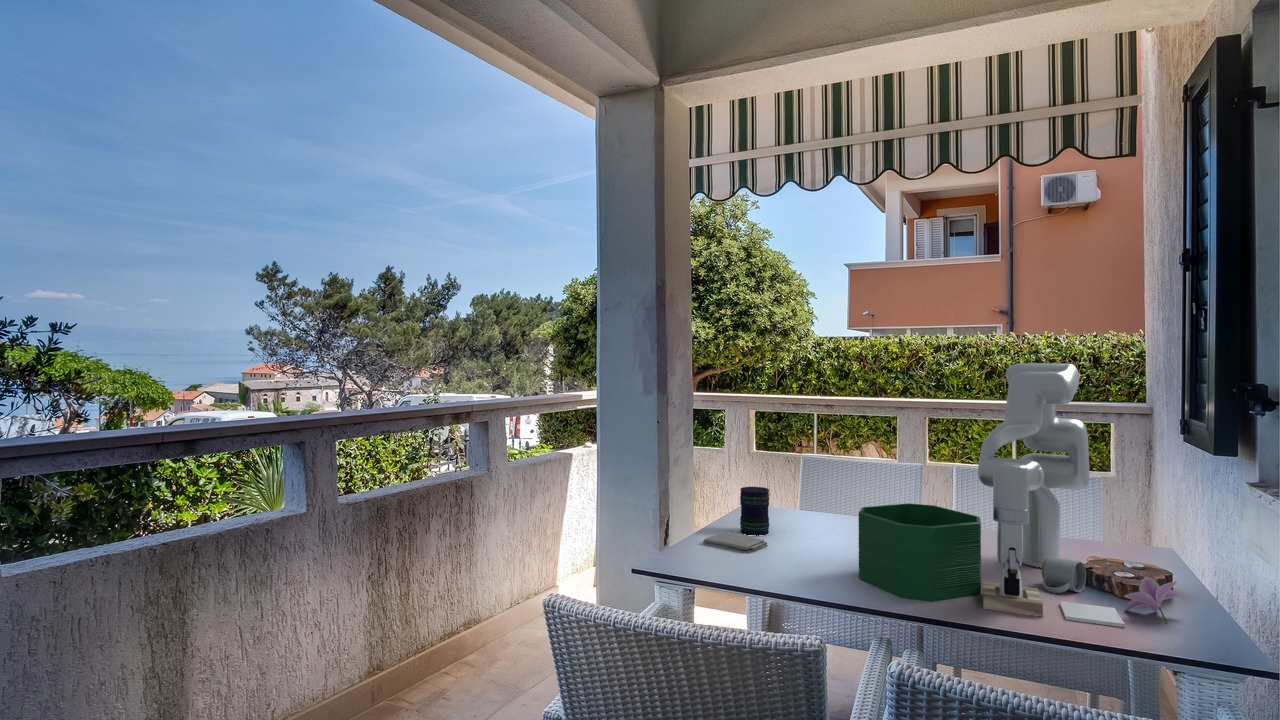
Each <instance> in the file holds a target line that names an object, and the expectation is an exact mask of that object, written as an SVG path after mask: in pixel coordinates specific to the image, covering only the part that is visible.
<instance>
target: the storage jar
mask: <svg viewBox="0 0 1280 720" xmlns="http://www.w3.org/2000/svg"><path fill="white" fill-rule="evenodd" d="M769 492H770V489H769V488H767V487H762V486H742V487H741V488H740V496H739V499H740V501H739V503H740V509H741V510H740V519H739V520H740V521H739V525H740V534H741V533H743V534H746V535H747V536H748V535H756V536H755V537H760V536H759V535H766V534H768V533H769V534H770V531H769V530H770V517H769V507H770V494H769ZM743 534H742V535H743ZM769 534H768V535H769ZM757 535H758V536H757ZM766 536H767V535H766Z"/></svg>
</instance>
